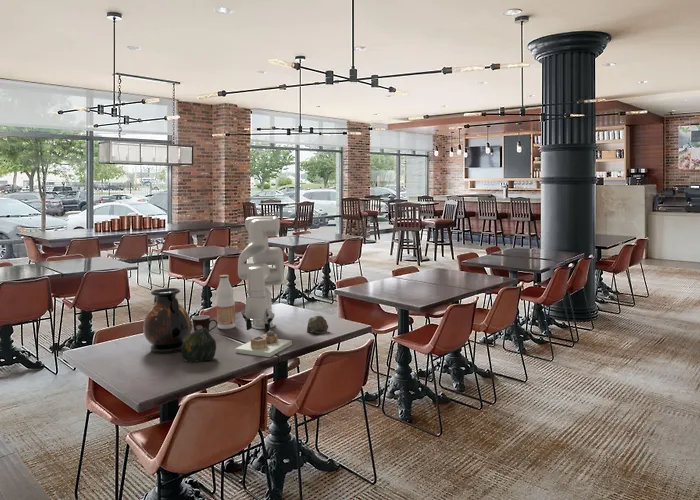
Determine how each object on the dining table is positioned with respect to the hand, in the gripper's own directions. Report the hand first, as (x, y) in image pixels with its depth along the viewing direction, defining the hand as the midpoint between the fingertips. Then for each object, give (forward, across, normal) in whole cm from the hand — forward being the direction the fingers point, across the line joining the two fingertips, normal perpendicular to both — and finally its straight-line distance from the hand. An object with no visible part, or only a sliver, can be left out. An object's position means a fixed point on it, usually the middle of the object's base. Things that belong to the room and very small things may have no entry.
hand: (258, 330), depth 255 cm
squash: (+10, -18, -20) cm, 29 cm away
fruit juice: (+11, -40, +30) cm, 51 cm away
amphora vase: (+10, -42, -12) cm, 44 cm away
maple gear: (+8, 0, -1) cm, 8 cm away
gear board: (+10, 0, +4) cm, 10 cm away
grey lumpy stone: (+11, +11, +37) cm, 40 cm away
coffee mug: (+11, -38, +10) cm, 41 cm away
